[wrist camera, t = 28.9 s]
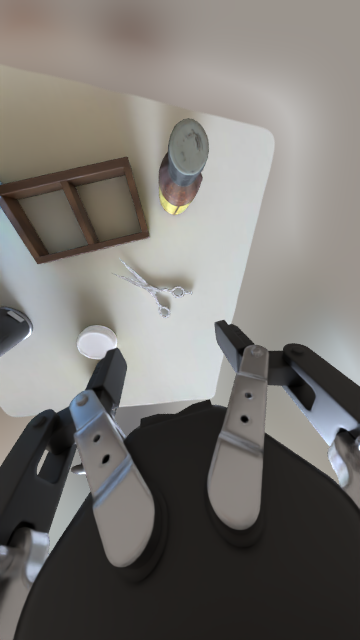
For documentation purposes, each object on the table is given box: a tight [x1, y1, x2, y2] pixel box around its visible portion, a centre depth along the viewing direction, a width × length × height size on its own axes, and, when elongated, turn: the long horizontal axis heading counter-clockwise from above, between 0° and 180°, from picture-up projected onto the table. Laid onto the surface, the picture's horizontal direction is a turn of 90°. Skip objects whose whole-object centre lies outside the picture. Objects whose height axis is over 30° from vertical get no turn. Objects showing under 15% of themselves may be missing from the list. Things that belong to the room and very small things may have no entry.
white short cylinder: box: [77, 325, 117, 359], centre depth 43 cm, size 10×10×4 cm
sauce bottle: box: [159, 118, 209, 215], centre depth 23 cm, size 6×6×20 cm
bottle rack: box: [0, 157, 150, 264], centre depth 30 cm, size 12×24×4 cm, turn 102°
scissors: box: [112, 259, 192, 318], centre depth 40 cm, size 11×1×20 cm
